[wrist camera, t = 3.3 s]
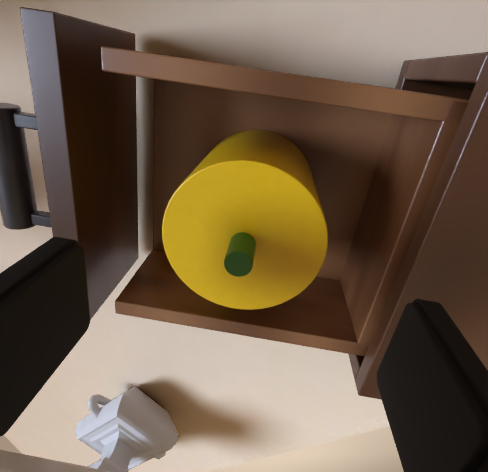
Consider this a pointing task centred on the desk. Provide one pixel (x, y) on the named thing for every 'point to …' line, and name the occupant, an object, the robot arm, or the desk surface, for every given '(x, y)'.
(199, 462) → the desk surface
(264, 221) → the pepper
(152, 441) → the stamp
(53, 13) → the drawer
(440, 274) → the cabinet
